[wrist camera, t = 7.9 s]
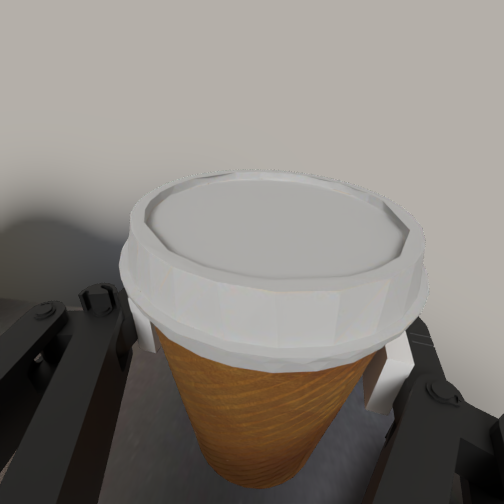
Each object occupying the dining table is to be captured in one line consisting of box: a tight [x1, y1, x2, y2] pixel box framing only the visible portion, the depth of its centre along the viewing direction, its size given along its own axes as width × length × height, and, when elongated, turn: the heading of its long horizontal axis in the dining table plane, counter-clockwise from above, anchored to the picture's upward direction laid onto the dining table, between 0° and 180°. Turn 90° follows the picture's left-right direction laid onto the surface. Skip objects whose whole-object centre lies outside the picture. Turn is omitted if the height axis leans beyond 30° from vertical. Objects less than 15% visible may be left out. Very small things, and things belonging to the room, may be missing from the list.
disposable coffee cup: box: [119, 170, 429, 489], centre depth 12 cm, size 10×10×12 cm
